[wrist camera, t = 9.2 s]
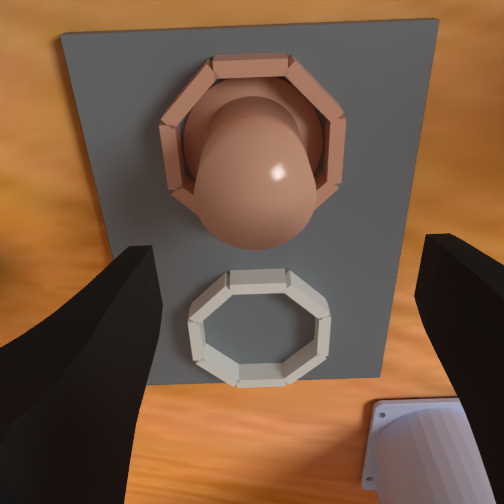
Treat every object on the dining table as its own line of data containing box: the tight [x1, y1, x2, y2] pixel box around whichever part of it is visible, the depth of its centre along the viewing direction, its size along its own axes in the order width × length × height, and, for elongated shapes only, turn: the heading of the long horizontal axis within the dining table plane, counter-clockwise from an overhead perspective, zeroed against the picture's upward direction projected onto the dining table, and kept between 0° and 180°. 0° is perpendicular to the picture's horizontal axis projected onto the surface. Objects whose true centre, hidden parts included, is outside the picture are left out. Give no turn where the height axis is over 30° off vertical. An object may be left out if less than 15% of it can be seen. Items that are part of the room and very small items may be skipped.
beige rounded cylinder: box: [194, 96, 317, 250], centre depth 17 cm, size 4×4×5 cm
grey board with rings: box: [60, 18, 439, 388], centre depth 22 cm, size 19×14×2 cm
